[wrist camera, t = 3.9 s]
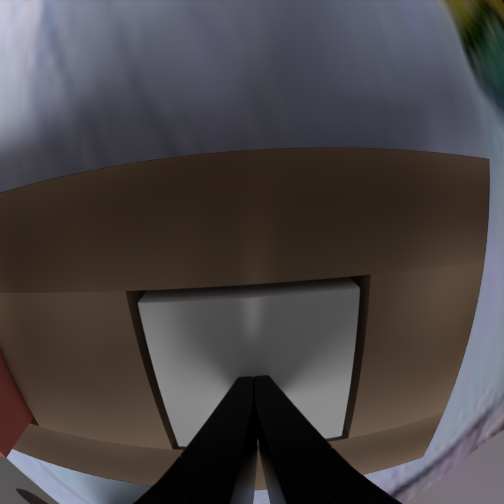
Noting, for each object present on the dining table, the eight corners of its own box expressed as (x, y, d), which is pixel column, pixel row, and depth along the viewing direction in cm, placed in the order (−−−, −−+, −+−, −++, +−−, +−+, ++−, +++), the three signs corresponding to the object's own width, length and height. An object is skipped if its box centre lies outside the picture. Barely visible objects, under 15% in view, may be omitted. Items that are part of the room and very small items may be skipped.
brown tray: (386, 392, 14) (422, 457, 9) (-7, 383, 14) (-42, 422, 9) (409, 158, 11) (489, 159, 6) (-58, 218, 11) (-112, 235, 6)
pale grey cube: (321, 376, 12) (341, 435, 8) (192, 384, 12) (178, 446, 8) (325, 251, 10) (360, 288, 7) (169, 262, 10) (137, 302, 7)
